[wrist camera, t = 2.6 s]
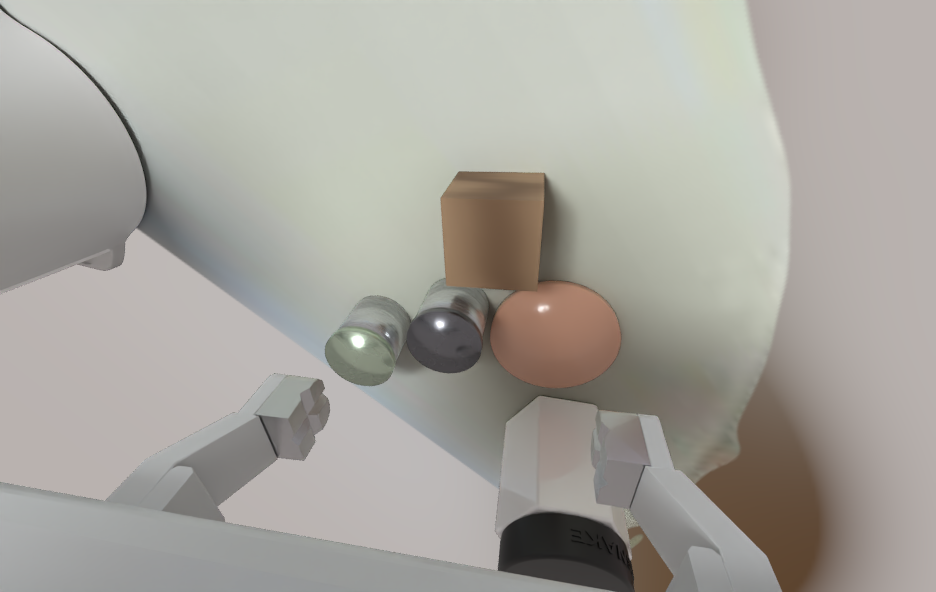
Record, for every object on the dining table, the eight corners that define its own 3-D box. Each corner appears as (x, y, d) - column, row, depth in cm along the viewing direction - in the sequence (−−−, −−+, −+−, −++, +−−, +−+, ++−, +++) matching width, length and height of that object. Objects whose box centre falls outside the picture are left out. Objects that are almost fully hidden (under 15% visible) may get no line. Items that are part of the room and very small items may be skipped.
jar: (622, 455, 34) (654, 625, 24) (533, 468, 37) (528, 625, 27) (589, 383, 30) (611, 548, 20) (493, 404, 33) (471, 557, 23)
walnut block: (461, 247, 26) (446, 285, 22) (459, 171, 23) (440, 198, 19) (538, 251, 25) (537, 291, 21) (544, 172, 23) (544, 200, 19)
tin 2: (427, 328, 30) (410, 369, 26) (422, 273, 28) (402, 310, 24) (490, 333, 29) (481, 376, 26) (490, 277, 27) (481, 315, 23)
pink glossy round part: (491, 374, 32) (489, 381, 31) (491, 276, 27) (490, 282, 26) (607, 386, 30) (609, 393, 29) (630, 284, 25) (633, 291, 25)
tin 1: (358, 342, 32) (333, 382, 28) (347, 292, 30) (317, 328, 26) (415, 347, 31) (397, 389, 28) (408, 296, 29) (387, 334, 25)
